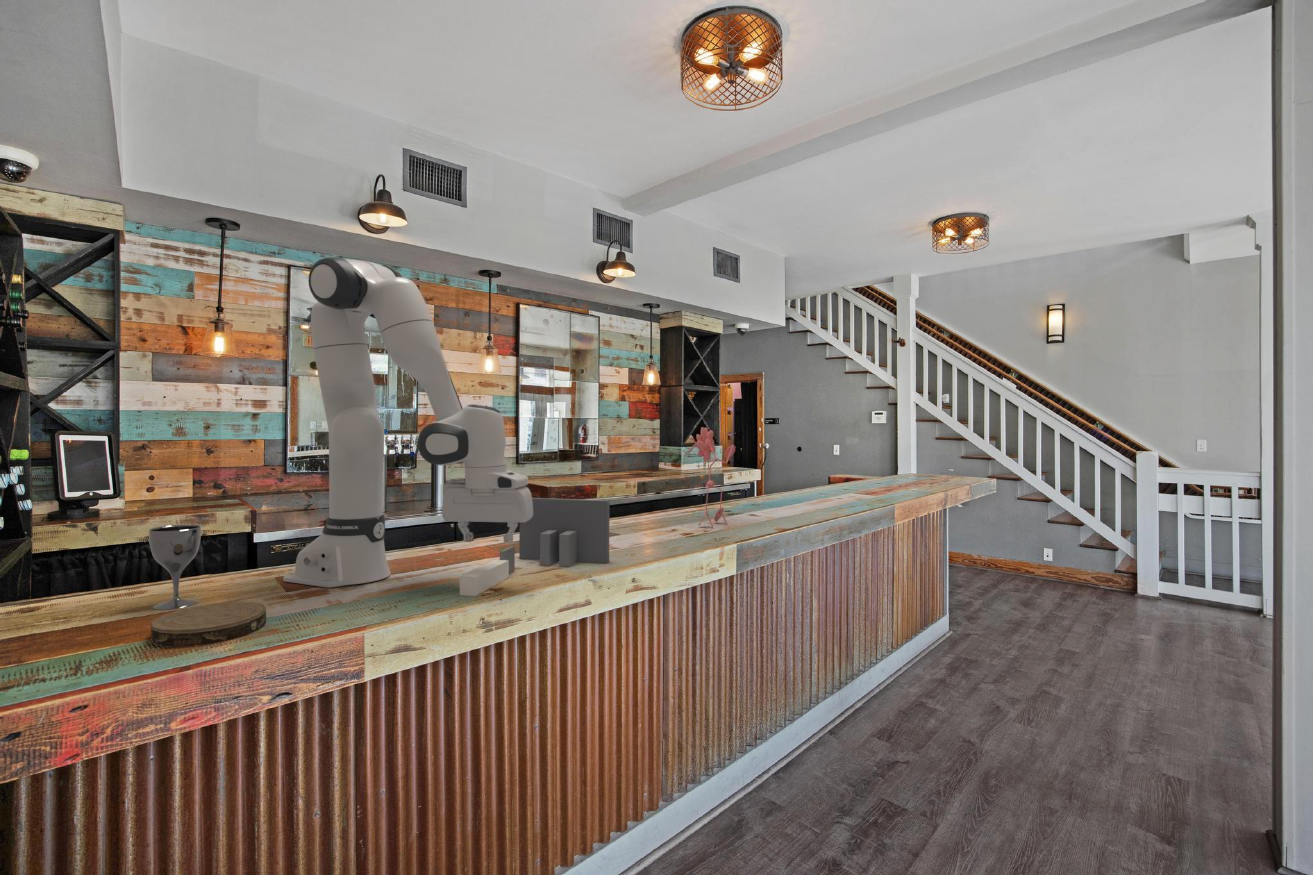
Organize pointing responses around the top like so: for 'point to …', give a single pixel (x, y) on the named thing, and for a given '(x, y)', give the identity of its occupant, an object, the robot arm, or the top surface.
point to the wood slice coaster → (208, 624)
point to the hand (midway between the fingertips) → (488, 541)
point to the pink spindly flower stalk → (705, 450)
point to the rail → (488, 574)
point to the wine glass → (175, 556)
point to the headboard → (566, 532)
